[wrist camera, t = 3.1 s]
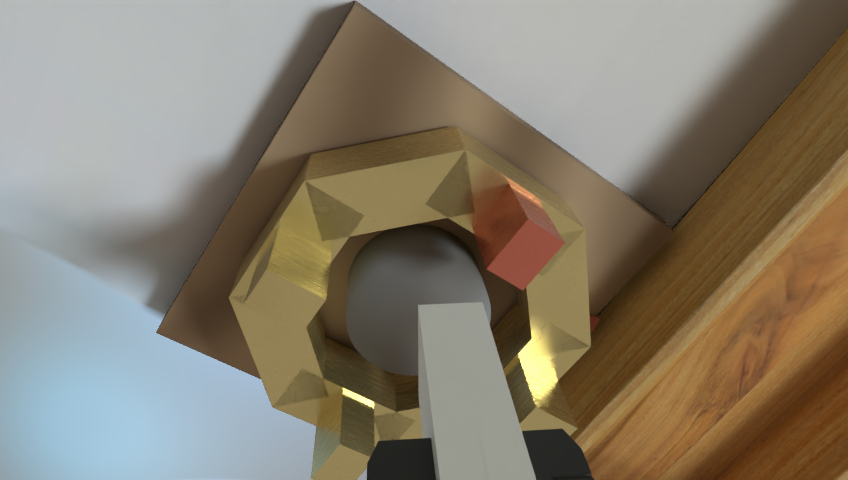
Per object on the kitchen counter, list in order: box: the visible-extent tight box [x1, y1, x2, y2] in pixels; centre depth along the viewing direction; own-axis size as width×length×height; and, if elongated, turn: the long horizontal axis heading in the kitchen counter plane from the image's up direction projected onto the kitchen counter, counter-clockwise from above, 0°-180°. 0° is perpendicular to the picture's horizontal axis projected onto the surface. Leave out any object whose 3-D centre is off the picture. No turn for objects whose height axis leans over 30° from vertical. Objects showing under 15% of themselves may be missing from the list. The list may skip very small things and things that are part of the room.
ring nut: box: [229, 126, 591, 480], centre depth 24 cm, size 14×14×6 cm
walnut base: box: [156, 1, 675, 379], centre depth 26 cm, size 17×17×4 cm
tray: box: [558, 29, 848, 480], centre depth 29 cm, size 31×15×6 cm, turn 148°
